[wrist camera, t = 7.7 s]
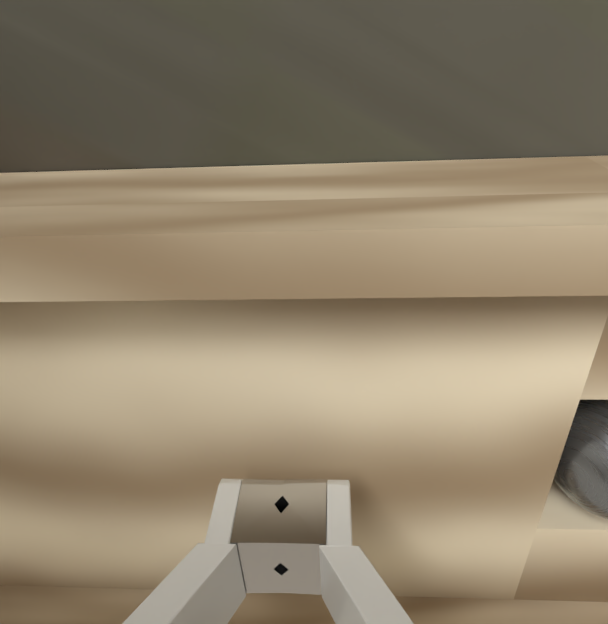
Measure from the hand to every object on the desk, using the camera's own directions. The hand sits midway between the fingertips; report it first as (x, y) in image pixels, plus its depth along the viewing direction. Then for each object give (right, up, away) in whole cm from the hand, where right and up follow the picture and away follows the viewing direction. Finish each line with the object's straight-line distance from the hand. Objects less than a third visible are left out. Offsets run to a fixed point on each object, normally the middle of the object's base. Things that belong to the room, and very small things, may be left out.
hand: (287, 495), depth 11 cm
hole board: (+3, +2, +3) cm, 5 cm away
